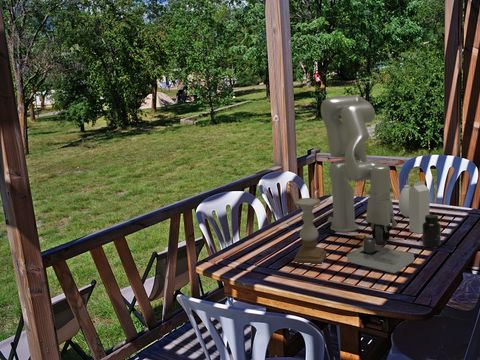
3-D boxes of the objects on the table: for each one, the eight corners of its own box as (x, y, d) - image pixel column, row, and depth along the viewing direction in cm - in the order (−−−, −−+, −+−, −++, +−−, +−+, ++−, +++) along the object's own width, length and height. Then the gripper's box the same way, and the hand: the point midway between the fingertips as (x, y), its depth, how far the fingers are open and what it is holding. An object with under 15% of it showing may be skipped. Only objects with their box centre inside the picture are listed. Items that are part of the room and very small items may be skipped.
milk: (409, 231, 229) (408, 182, 225) (419, 228, 232) (418, 179, 227) (419, 234, 224) (418, 184, 219) (430, 231, 226) (429, 181, 222)
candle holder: (321, 265, 198) (318, 204, 193) (293, 264, 202) (289, 204, 197) (327, 255, 208) (324, 197, 203) (300, 254, 212) (296, 197, 207)
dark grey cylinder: (373, 244, 212) (372, 225, 210) (378, 240, 215) (378, 222, 213) (382, 246, 209) (382, 227, 207) (388, 243, 212) (388, 224, 210)
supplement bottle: (442, 247, 206) (441, 218, 204) (423, 247, 208) (423, 218, 206) (439, 241, 213) (439, 213, 211) (421, 242, 215) (421, 213, 212)
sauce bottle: (398, 218, 248) (397, 181, 244) (399, 214, 255) (398, 178, 251) (415, 219, 245) (415, 181, 241) (416, 214, 252) (415, 178, 248)
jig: (347, 261, 200) (346, 241, 198) (367, 251, 209) (366, 232, 208) (394, 273, 186) (393, 252, 184) (413, 261, 195) (413, 240, 193)
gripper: (356, 195, 210) (357, 237, 215) (394, 201, 198) (394, 246, 203) (367, 190, 215) (367, 232, 220) (404, 196, 203) (404, 240, 208)
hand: (380, 238), depth 211 cm, fingers closed on dark grey cylinder, 4 cm apart
